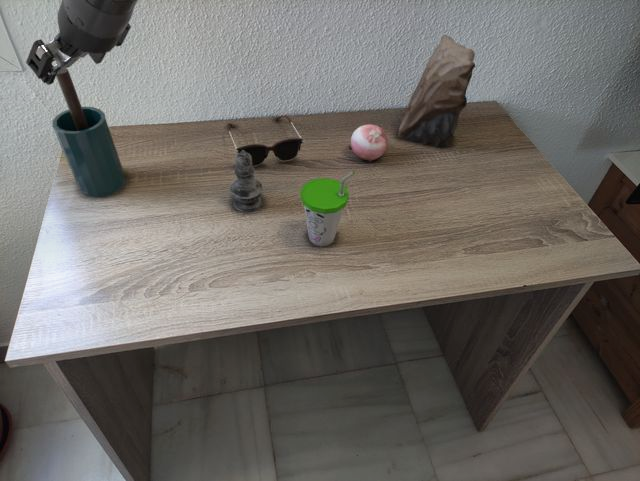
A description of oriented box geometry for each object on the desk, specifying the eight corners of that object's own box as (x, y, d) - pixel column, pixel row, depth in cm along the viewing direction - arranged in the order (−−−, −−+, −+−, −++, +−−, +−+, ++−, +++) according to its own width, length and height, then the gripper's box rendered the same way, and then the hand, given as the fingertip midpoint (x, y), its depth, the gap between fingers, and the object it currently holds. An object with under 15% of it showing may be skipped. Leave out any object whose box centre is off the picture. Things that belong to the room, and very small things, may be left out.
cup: (290, 240, 82) (290, 172, 71) (316, 216, 87) (319, 148, 76) (327, 260, 79) (333, 193, 68) (351, 234, 84) (361, 166, 73)
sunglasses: (238, 169, 95) (236, 148, 92) (224, 130, 106) (221, 110, 103) (303, 159, 98) (303, 138, 95) (283, 122, 109) (282, 102, 106)
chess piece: (257, 189, 91) (253, 136, 82) (268, 208, 88) (265, 155, 79) (227, 196, 89) (221, 144, 80) (237, 216, 86) (231, 163, 77)
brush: (90, 189, 88) (45, 79, 72) (89, 175, 91) (46, 66, 75) (115, 184, 89) (76, 75, 73) (113, 170, 92) (76, 62, 76)
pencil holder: (80, 201, 87) (52, 137, 76) (78, 174, 92) (52, 110, 82) (127, 192, 89) (106, 128, 79) (123, 166, 94) (103, 103, 84)
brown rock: (416, 112, 113) (435, 28, 99) (466, 130, 109) (493, 44, 94) (394, 137, 106) (411, 49, 91) (447, 156, 101) (473, 68, 87)
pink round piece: (358, 169, 97) (362, 140, 92) (342, 148, 102) (344, 119, 96) (391, 161, 99) (397, 132, 94) (374, 141, 104) (378, 112, 99)
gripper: (122, -33, 63) (93, 31, 75) (23, -4, 54) (8, 63, 67) (158, 18, 64) (124, 72, 77) (68, 54, 56) (45, 108, 68)
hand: (70, 68), depth 72 cm, fingers open, 8 cm apart
